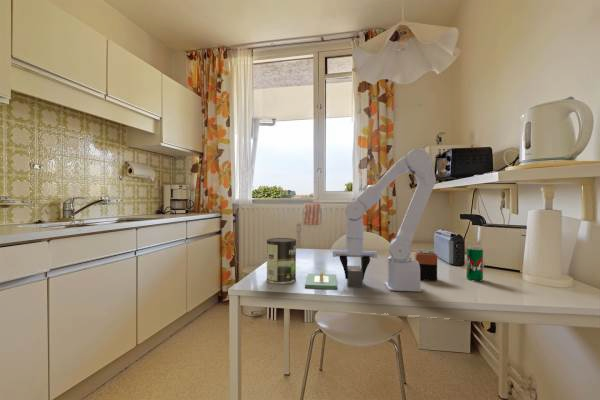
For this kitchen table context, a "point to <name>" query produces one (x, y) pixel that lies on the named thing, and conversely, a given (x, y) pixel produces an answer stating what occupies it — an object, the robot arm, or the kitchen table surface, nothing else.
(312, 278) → the header board
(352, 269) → the block
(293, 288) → the kitchen table surface
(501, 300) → the kitchen table surface
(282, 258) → the coffee can
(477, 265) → the soda can
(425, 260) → the battery
